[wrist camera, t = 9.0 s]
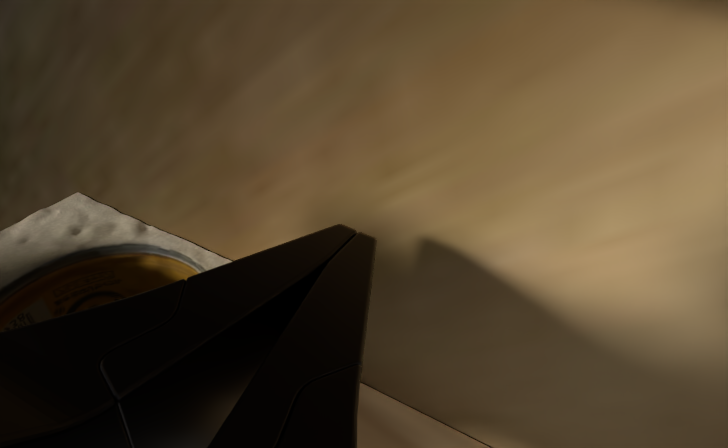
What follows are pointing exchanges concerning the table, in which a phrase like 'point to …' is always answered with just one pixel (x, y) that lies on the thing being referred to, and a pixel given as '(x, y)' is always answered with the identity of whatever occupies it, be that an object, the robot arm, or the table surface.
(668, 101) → the table surface
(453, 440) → the wooden bracket
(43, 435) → the robot arm
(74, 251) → the condiment
